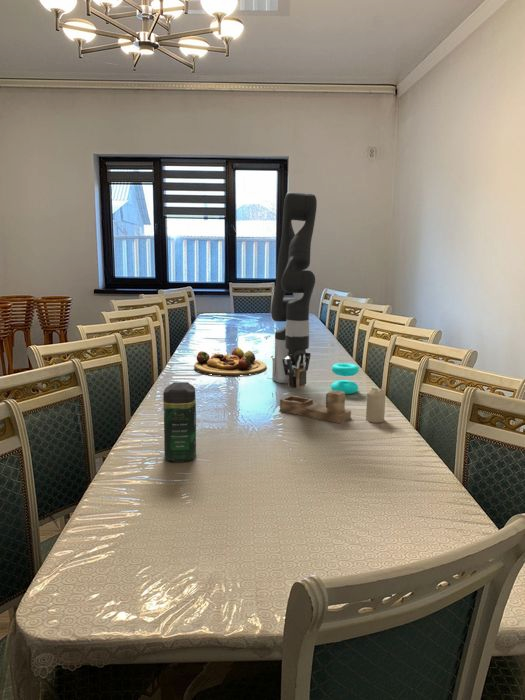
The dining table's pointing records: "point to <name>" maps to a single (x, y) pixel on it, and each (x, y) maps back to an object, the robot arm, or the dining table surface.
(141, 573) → the dining table surface
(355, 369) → the donuts
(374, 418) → the candle
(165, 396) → the coffee jar
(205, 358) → the wooden plate with food
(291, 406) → the rail
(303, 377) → the brown wooden block
